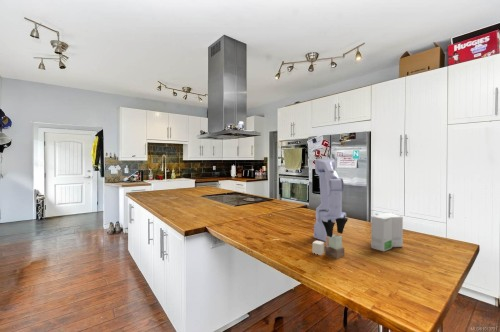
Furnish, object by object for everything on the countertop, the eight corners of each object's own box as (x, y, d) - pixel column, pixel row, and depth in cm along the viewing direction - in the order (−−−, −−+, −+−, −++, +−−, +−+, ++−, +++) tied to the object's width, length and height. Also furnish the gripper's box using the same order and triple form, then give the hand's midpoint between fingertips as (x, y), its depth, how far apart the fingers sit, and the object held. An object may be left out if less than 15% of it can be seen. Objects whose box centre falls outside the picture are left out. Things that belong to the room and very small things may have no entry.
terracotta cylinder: (324, 246, 114) (324, 237, 114) (329, 245, 117) (329, 235, 116) (331, 249, 111) (331, 239, 111) (336, 247, 113) (336, 237, 113)
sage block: (328, 246, 105) (328, 235, 105) (334, 244, 107) (334, 234, 107) (336, 249, 101) (336, 238, 101) (342, 247, 104) (342, 236, 103)
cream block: (312, 253, 107) (312, 242, 107) (316, 250, 110) (316, 240, 110) (320, 255, 105) (320, 244, 104) (324, 252, 108) (324, 242, 107)
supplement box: (391, 240, 122) (391, 212, 121) (403, 247, 113) (403, 216, 112) (374, 240, 122) (374, 212, 121) (385, 247, 113) (385, 217, 112)
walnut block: (325, 255, 105) (325, 246, 105) (332, 251, 109) (332, 243, 109) (337, 259, 100) (337, 250, 100) (344, 255, 104) (344, 247, 104)
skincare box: (383, 252, 107) (384, 219, 107) (369, 247, 113) (370, 216, 112) (392, 248, 112) (393, 216, 111) (378, 244, 117) (379, 213, 117)
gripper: (332, 208, 96) (332, 240, 97) (352, 204, 105) (352, 233, 105) (318, 206, 102) (318, 236, 103) (338, 202, 110) (338, 229, 111)
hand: (334, 234), depth 104 cm, fingers open, 7 cm apart
